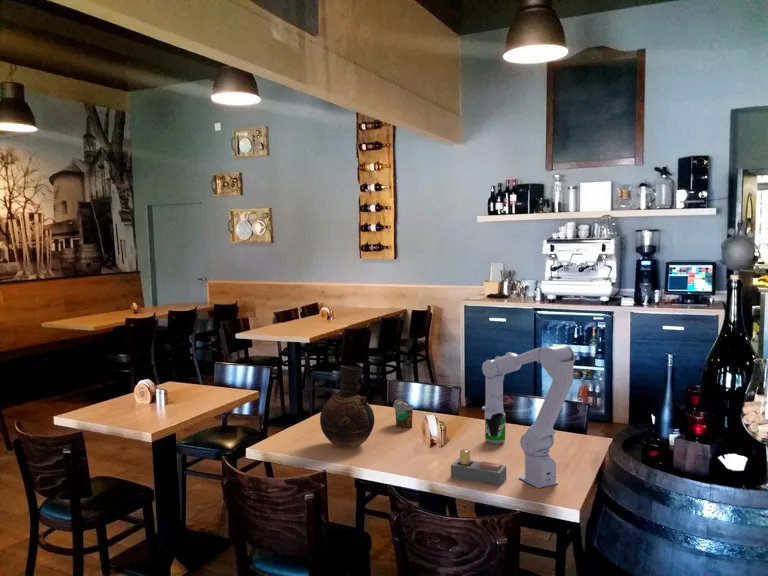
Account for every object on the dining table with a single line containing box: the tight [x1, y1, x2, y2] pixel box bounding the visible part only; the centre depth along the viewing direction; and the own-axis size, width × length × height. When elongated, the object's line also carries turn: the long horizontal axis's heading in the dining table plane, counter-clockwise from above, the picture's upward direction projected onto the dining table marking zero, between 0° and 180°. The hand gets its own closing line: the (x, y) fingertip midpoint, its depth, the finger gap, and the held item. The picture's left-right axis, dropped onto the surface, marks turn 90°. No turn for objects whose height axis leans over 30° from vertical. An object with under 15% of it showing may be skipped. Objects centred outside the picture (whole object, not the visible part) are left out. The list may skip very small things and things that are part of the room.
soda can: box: [484, 411, 506, 445], centre depth 228 cm, size 8×8×12 cm
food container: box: [392, 398, 414, 429], centre depth 250 cm, size 12×6×10 cm, turn 17°
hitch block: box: [450, 457, 507, 487], centre depth 191 cm, size 16×7×4 cm, turn 63°
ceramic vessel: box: [319, 365, 376, 449], centre depth 224 cm, size 21×18×30 cm
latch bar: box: [480, 461, 502, 470], centre depth 189 cm, size 6×3×1 cm, turn 63°
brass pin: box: [459, 448, 471, 467], centre depth 193 cm, size 3×3×8 cm
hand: (493, 435), depth 202 cm, fingers closed
